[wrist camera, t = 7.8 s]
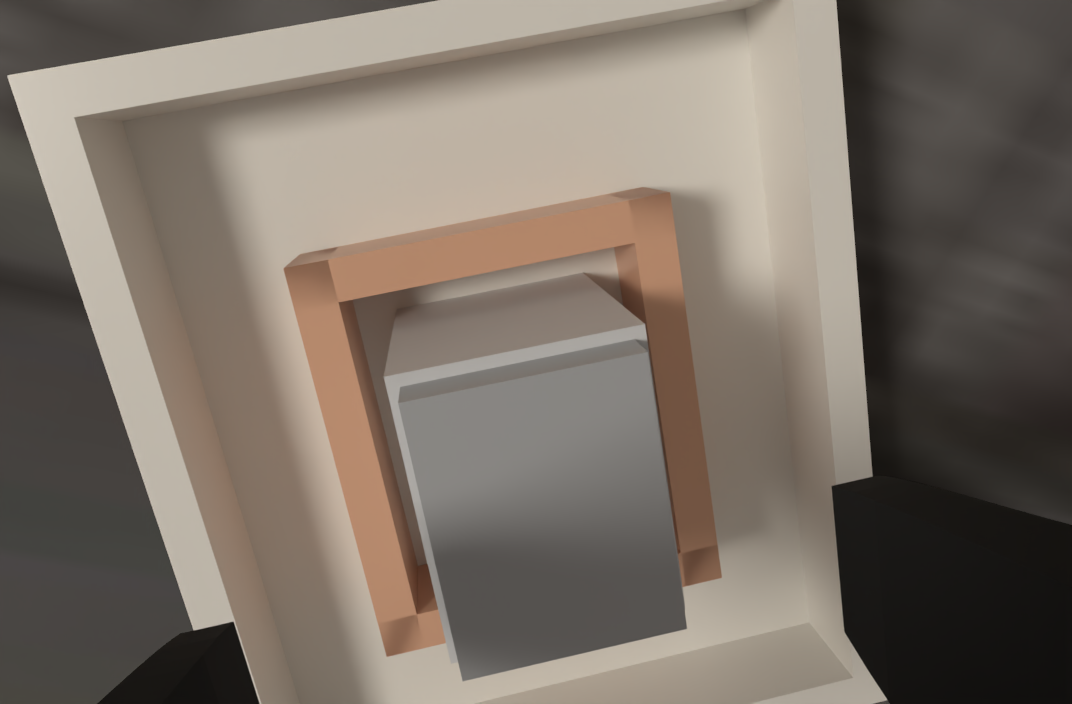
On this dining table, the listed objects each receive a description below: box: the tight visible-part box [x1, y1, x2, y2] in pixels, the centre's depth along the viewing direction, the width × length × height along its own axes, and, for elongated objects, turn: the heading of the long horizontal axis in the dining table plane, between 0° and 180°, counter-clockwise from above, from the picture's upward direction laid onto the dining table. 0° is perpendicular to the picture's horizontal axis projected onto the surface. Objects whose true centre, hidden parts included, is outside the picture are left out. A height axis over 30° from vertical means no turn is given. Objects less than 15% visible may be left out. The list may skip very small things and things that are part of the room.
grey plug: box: [384, 273, 687, 681], centre depth 15 cm, size 5×4×6 cm
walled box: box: [7, 0, 887, 704], centre depth 17 cm, size 16×14×3 cm
